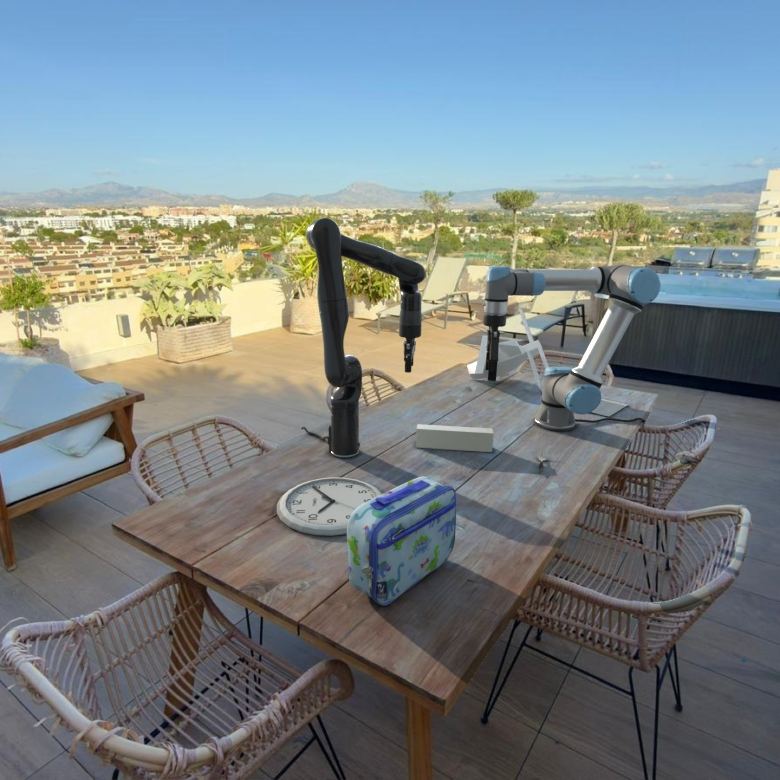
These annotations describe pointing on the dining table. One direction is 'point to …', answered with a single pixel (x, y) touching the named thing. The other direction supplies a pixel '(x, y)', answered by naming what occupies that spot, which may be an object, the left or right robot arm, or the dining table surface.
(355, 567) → the lunch box
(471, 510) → the dining table surface
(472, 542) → the dining table surface
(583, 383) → the right robot arm
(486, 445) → the beam
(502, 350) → the white plastic object
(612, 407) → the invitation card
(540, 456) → the fork
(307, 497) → the wall clock
